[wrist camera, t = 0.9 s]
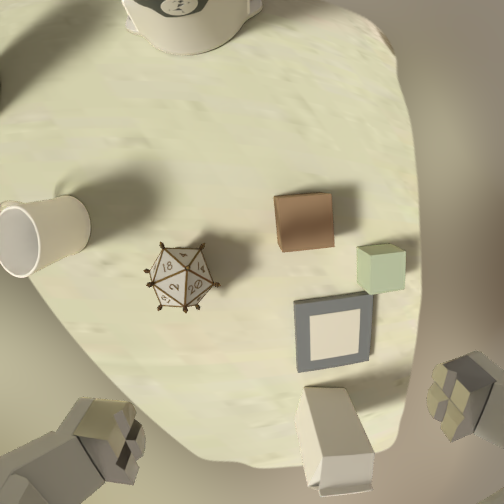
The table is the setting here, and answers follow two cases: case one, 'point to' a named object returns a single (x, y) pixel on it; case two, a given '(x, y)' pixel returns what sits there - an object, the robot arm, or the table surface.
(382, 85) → the table surface
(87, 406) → the robot arm
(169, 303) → the game die
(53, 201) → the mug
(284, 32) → the table surface
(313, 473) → the milk carton
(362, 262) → the sage cube
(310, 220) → the walnut block
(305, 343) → the board
